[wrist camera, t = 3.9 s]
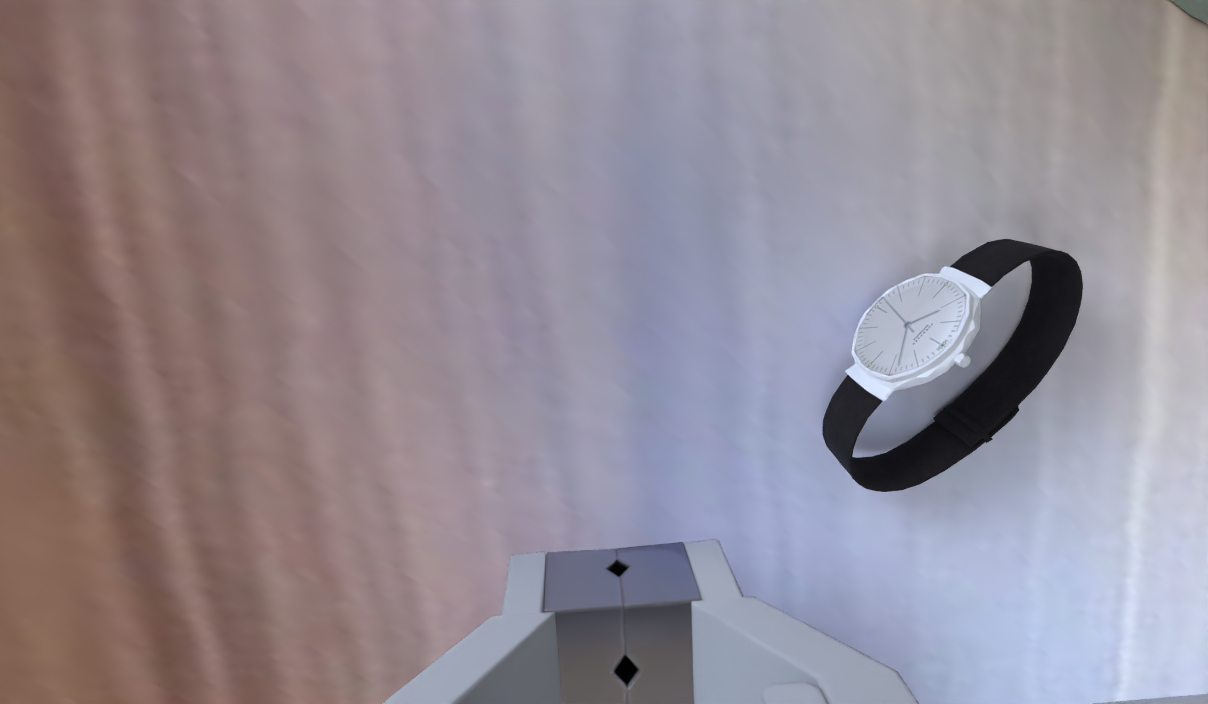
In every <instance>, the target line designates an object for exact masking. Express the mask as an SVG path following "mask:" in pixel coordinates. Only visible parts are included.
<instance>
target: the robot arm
mask: <svg viewBox="0 0 1208 704" xmlns="http://www.w3.org/2000/svg"><path fill="white" fill-rule="evenodd" d="M382 704H919V703H918V701H917V700H916V698H915V697H914V695H913V694H912V692H911V691H910V689H909V688H908V686H907V685H906V683H905V682H904V680H903V679H902V677H901V676H900V675H899V673H898V672H897V671H895V670H893V669H891V668H889V667H887V666H885V665H884V664H882V663H880V662H878V661H876V660H874V659H872V658H870V657H868V656H866V655H864V654H863V653H861V652H859V651H857V650H855V649H853V648H851V647H849V646H847V645H845V644H843V643H841V642H840V641H838V640H836V639H834V638H832V637H830V636H828V635H826V634H824V633H822V632H820V631H819V630H817V629H815V628H813V627H811V626H809V625H807V624H805V623H803V622H801V621H799V620H798V619H796V618H794V617H792V616H790V615H788V614H786V613H784V612H782V611H780V610H778V609H777V608H775V607H773V606H771V605H769V604H767V603H765V602H763V601H761V600H759V599H757V598H756V597H744V596H743V594H742V592H741V590H740V587H739V585H738V583H737V581H736V578H735V576H734V574H733V572H732V569H731V567H730V565H729V563H728V560H727V558H726V556H725V553H724V551H723V549H722V547H721V544H720V542H719V541H718V540H716V539H711V540H703V541H695V542H687V543H683V542H678V543H668V544H657V545H647V546H637V547H627V548H617V549H599V550H580V551H562V552H547V555H546V553H545V552H536V553H526V554H516V555H512V556H511V557H510V558H509V563H508V570H507V577H506V584H505V591H504V598H503V604H502V611H501V616H493V617H490V618H489V619H488V620H486V621H485V622H484V623H483V624H481V625H480V626H479V627H478V628H476V629H475V630H474V631H472V632H471V633H470V634H469V635H467V636H466V637H465V638H464V639H462V640H461V641H460V642H459V643H457V644H456V645H455V646H454V647H452V648H451V649H450V650H449V651H447V652H446V653H445V654H444V655H442V656H441V657H440V658H439V659H437V660H436V661H435V662H433V663H432V664H431V665H430V666H428V667H427V668H426V669H425V670H423V671H422V672H421V673H420V674H418V675H417V676H416V677H415V678H413V679H412V680H411V681H410V682H408V683H407V684H406V685H405V686H403V687H402V688H401V689H400V690H398V691H397V692H396V693H394V694H393V695H392V696H391V697H389V698H388V699H387V700H386V701H384V702H383V703H382ZM1094 704H1208V694H1201V695H1189V696H1177V697H1165V698H1153V699H1141V700H1129V701H1117V702H1106V703H1094Z"/></svg>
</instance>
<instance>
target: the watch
mask: <svg viewBox="0 0 1208 704" xmlns="http://www.w3.org/2000/svg"><path fill="white" fill-rule="evenodd" d="M1029 260H1030V263H1031V267H1032V284H1031V289H1030V294H1029V299H1028V302H1027V305H1026V308H1025V310H1024V313H1023V316H1022V318H1021V321H1020V323H1019V324H1018V326H1017V328H1016V330H1015V331H1014V333H1013V335H1012V337H1011V338H1010V340H1009V342H1008V343H1007V344H1006V346H1005V347H1004V348H1003V350H1002V351H1001V352H1000V354H999V355H998V357H997V358H996V359H995V361H994V362H993V363H992V364H991V365H990V366H989V367H988V368H987V369H986V370H985V371H984V372H983V373H982V374H981V375H980V376H979V377H978V378H977V379H976V380H975V381H974V382H973V383H972V384H971V386H970V387H969V388H968V389H967V390H966V391H965V392H964V393H963V394H962V395H961V396H960V397H959V398H958V399H956V400H955V401H954V402H953V403H951V404H950V405H949V406H947V407H946V408H944V410H943V411H941V412H940V413H939V414H938V415H936V416H935V417H934V420H935V422H934V423H932V424H931V425H929V426H928V427H927V428H925V429H924V430H922V431H921V432H920V433H918V434H917V435H915V436H914V437H913V438H911V439H910V440H909V441H907V442H905V443H903V444H901V445H900V446H898V447H896V448H894V449H892V450H890V451H888V452H887V453H883V454H880V455H876V456H872V457H862V458H854V457H852V455H853V449H854V446H855V443H856V440H857V437H858V435H859V433H860V431H861V430H862V428H863V426H864V424H865V423H866V421H867V419H868V417H869V416H870V415H871V414H872V413H873V412H874V410H875V409H876V408H877V407H878V406H879V405H880V404H881V402H882V401H886V399H887V398H888V397H889V395H890V394H891V393H892V392H893V390H903V389H906V388H910V387H914V386H918V385H921V384H925V383H928V382H930V381H931V380H933V379H935V378H937V377H938V376H940V375H942V374H943V373H945V372H946V371H947V370H949V369H950V368H951V367H952V366H953V365H954V364H955V363H956V364H957V365H959V366H961V367H963V368H964V367H967V366H968V365H969V363H970V362H971V359H970V357H968V356H966V355H965V353H966V351H967V350H968V348H969V346H970V345H971V343H972V341H973V340H974V338H975V336H976V334H977V333H978V331H979V329H980V317H981V298H982V297H983V296H985V295H986V294H987V293H988V292H989V291H990V290H991V289H992V286H993V285H995V284H996V283H997V282H998V281H999V280H1000V279H1001V278H1002V277H1003V276H1004V275H1006V274H1007V273H1009V272H1010V271H1012V270H1013V269H1015V268H1016V267H1018V266H1019V265H1021V264H1022V263H1024V262H1026V261H1029ZM1082 289H1083V284H1082V275H1081V270H1080V268H1079V266H1078V264H1077V262H1076V261H1075V260H1074V259H1073V258H1072V257H1071V256H1070V255H1069V254H1067V253H1065V252H1062V251H1058V250H1053V249H1050V248H1046V247H1042V246H1037V245H1033V244H1029V243H1025V242H1020V241H1015V240H1010V239H1002V240H996V241H991V242H987V243H985V244H983V245H982V246H980V247H978V248H976V249H974V250H973V251H971V252H969V253H967V254H965V255H964V256H962V257H961V258H960V259H959V260H957V261H956V262H955V263H954V264H953V265H951V266H950V267H946V266H944V267H943V268H942V269H941V271H940V272H939V274H933V273H925V274H922V275H919V276H917V277H914V278H911V279H908V280H905V281H903V282H901V283H900V284H898V285H896V286H894V287H892V288H891V289H889V290H887V291H886V292H885V293H883V294H882V295H881V296H880V297H879V298H878V299H877V300H876V301H875V302H874V303H873V304H872V305H871V306H870V307H869V308H868V309H867V310H866V312H865V313H864V315H863V316H862V317H861V319H860V321H859V324H858V326H857V329H856V331H855V334H854V338H853V345H852V352H851V353H852V356H853V357H854V359H855V364H854V365H852V366H851V367H850V368H848V369H847V370H846V371H845V372H846V373H847V374H848V375H847V377H846V378H845V379H844V381H843V382H842V383H841V385H840V386H839V388H838V389H837V391H836V392H835V394H834V395H833V397H832V399H831V401H830V403H829V405H828V408H827V410H826V413H825V416H824V419H823V437H824V440H825V443H826V445H827V447H828V448H829V450H830V451H831V452H832V453H833V454H834V456H835V457H836V458H837V460H838V461H839V462H840V463H841V465H842V466H843V467H844V468H845V469H846V470H847V471H848V473H849V474H850V475H851V476H852V478H853V479H854V480H855V481H856V482H857V483H858V484H859V485H861V486H863V487H864V488H866V489H870V490H874V491H881V492H888V491H899V490H904V489H907V488H910V487H913V486H916V485H919V484H921V483H923V482H925V481H927V480H929V479H930V478H932V477H934V476H936V475H938V474H940V473H942V472H943V471H945V470H947V469H948V468H950V467H951V466H953V465H954V464H955V463H957V462H958V461H960V460H961V459H963V458H964V457H966V456H967V455H969V454H970V453H972V452H973V451H975V450H976V449H977V448H978V447H980V446H981V445H982V444H983V443H985V442H986V443H987V442H989V441H991V440H993V439H992V438H991V437H992V436H993V435H994V434H995V433H997V432H998V431H999V430H1000V429H1001V428H1002V427H1003V426H1005V425H1006V424H1007V423H1008V422H1009V421H1010V420H1011V419H1012V418H1013V417H1014V416H1015V415H1016V414H1017V412H1018V411H1019V408H1018V405H1019V404H1020V403H1021V402H1022V401H1023V400H1024V399H1025V398H1026V397H1027V396H1028V395H1029V394H1030V393H1031V392H1032V391H1033V390H1034V389H1035V388H1036V387H1037V385H1038V384H1039V383H1040V382H1041V380H1042V379H1043V378H1044V376H1045V375H1046V374H1047V372H1048V371H1049V370H1050V368H1051V367H1052V365H1053V364H1054V362H1055V361H1056V359H1057V358H1058V356H1059V355H1060V353H1061V352H1062V350H1063V349H1064V347H1065V345H1066V342H1067V340H1068V338H1069V336H1070V334H1071V332H1072V330H1073V328H1074V326H1075V323H1076V319H1077V316H1078V312H1079V308H1080V304H1081V300H1082Z"/></svg>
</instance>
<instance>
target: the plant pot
mask: <svg viewBox="0 0 1208 704" xmlns="http://www.w3.org/2000/svg"><path fill="white" fill-rule="evenodd" d="M1171 1H1172V2H1174V3H1175V4H1176V5H1177V6H1179V7H1180V8H1181V9H1183V10H1184V11H1185V12H1186V13H1188V14H1189V15H1191V16H1193V17H1195V18H1197V19H1199V20H1200V21H1202V22H1204V23H1206V24H1208V0H1171Z"/></svg>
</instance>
